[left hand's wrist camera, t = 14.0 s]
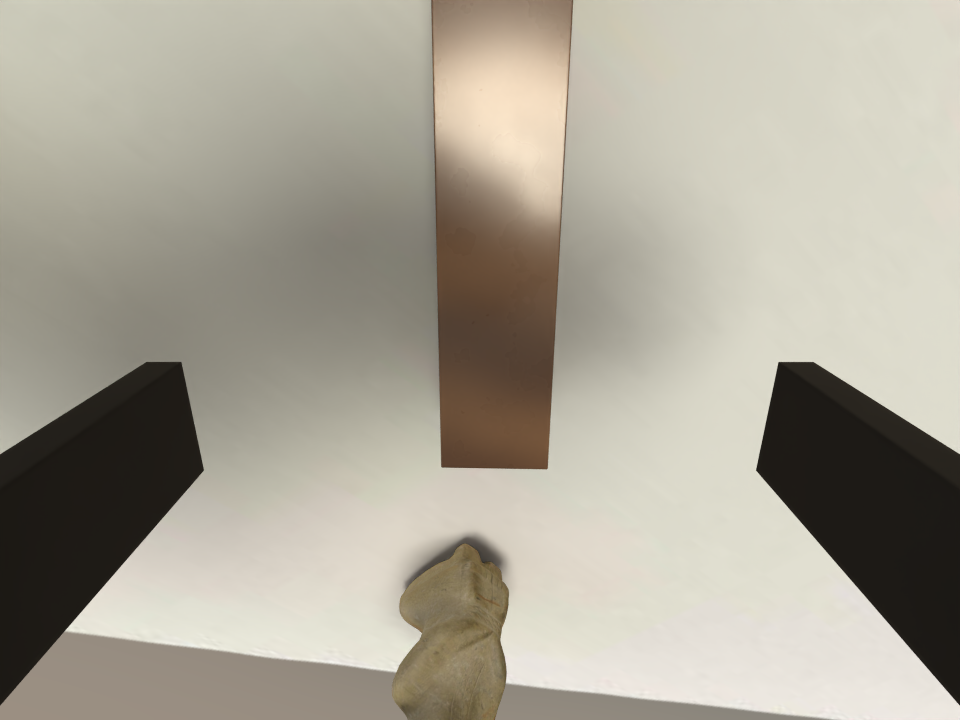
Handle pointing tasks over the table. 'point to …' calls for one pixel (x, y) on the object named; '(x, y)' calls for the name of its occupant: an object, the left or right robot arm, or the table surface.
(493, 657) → the sculpture
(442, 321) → the bar
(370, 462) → the table surface
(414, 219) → the table surface
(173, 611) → the table surface
